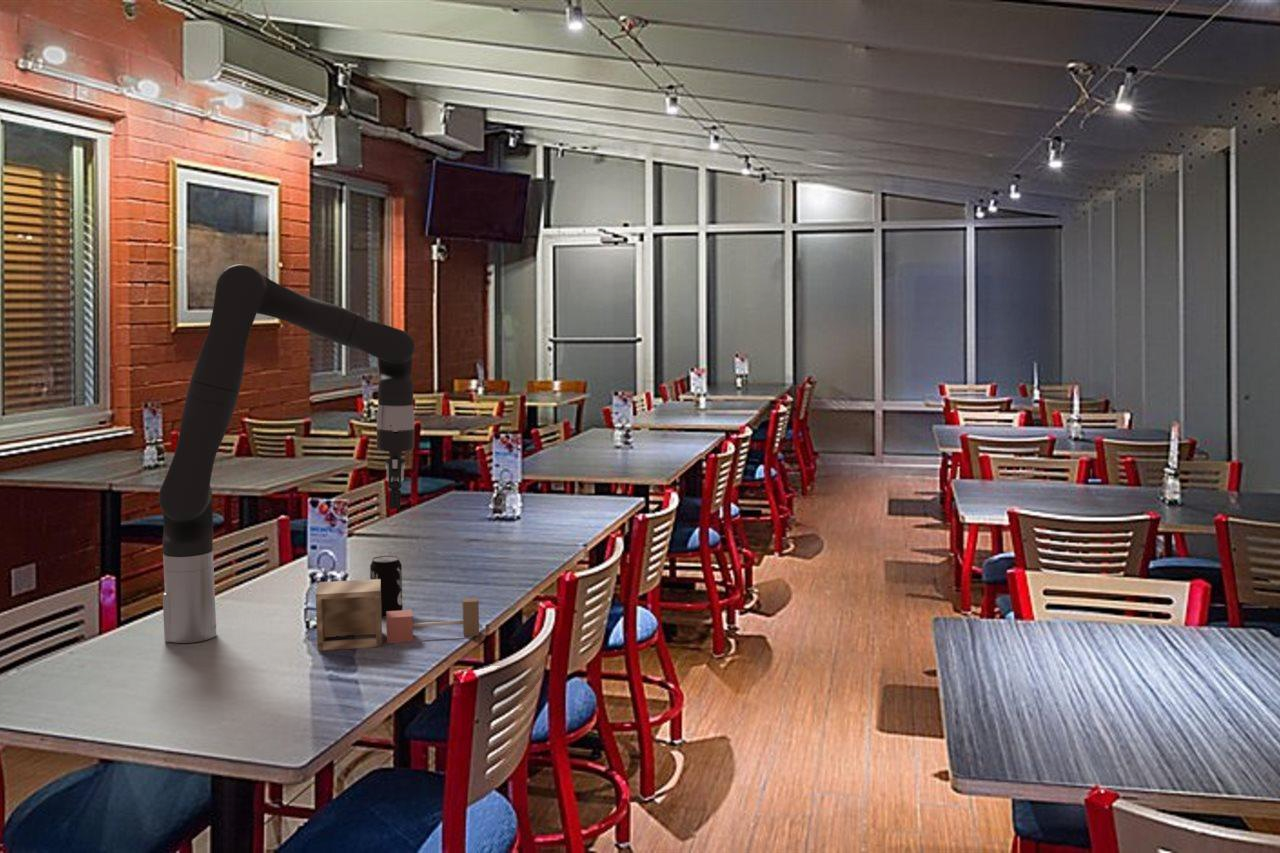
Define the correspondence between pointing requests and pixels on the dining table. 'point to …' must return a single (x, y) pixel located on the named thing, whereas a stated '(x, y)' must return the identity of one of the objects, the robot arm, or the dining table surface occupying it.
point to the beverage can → (388, 581)
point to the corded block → (403, 625)
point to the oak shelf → (348, 613)
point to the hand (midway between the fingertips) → (395, 505)
